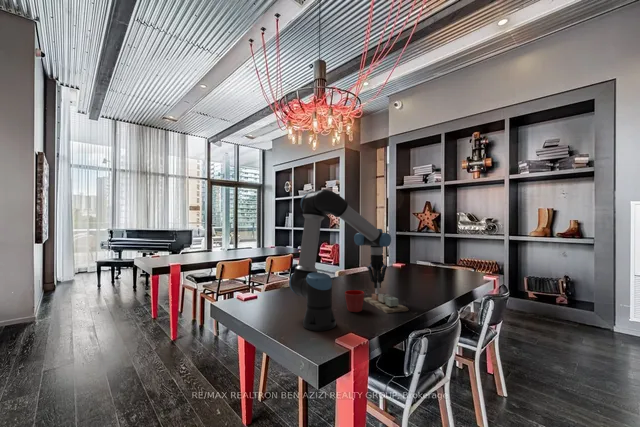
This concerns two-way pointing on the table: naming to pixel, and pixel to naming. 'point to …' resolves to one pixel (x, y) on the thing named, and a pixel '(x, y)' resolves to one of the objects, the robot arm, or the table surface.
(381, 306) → the button board
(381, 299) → the tile
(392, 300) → the tile
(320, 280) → the robot arm
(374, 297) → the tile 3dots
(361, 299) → the flower pot
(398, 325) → the table surface
